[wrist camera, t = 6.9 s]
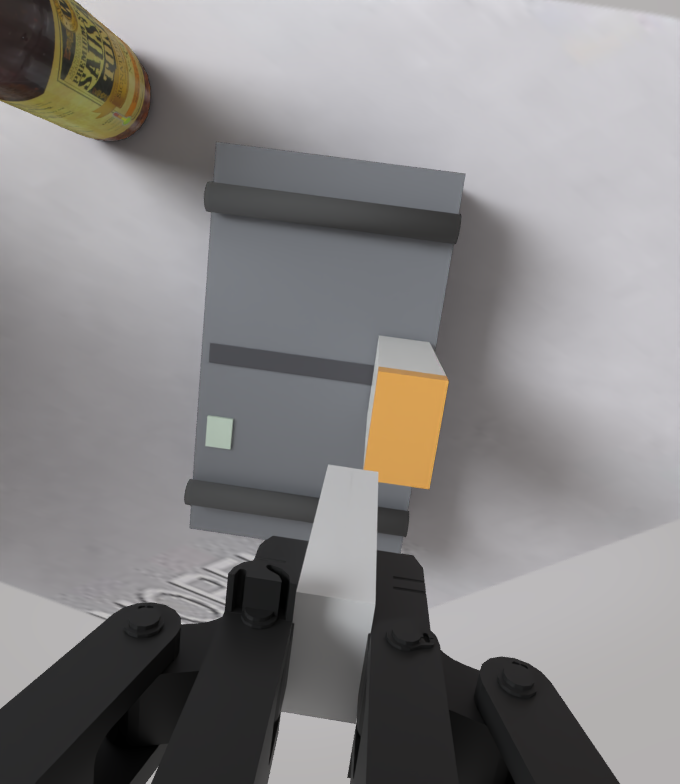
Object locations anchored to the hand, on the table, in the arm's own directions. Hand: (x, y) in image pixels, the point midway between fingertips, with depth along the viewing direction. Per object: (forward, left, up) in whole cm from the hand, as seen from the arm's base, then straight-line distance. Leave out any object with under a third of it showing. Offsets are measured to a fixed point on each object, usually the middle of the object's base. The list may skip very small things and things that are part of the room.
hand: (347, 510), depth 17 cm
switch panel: (-3, 0, -25) cm, 25 cm away
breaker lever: (+2, 0, -19) cm, 19 cm away
